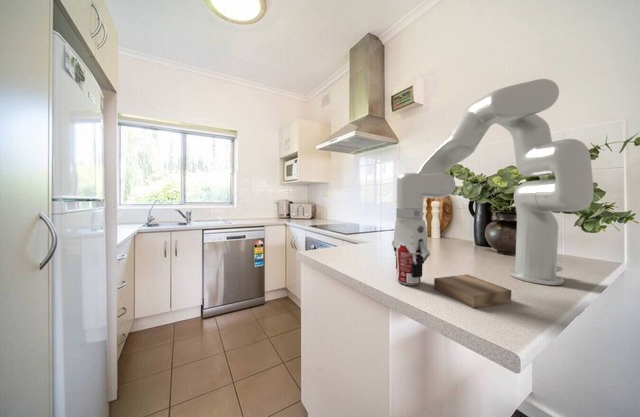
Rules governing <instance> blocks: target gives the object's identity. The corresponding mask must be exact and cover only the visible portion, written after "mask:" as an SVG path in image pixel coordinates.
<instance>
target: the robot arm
mask: <svg viewBox="0 0 640 417" xmlns="http://www.w3.org/2000/svg"><path fill="white" fill-rule="evenodd" d="M559 96H560V89H559V86H558V85H557V83H556V82H555V81H553V80H551V79H548V78H538V79H533V80H529V81H525V82H520V83H517V84H513V85H509V86H505V87H500V88H497V89H496V90H493V91H491V92H489V93H488V94H486V95H484V96H483V97H481V98H479V99H477V100H476V101H474V102H472V103H471V104H470V105H469V106H467V108H465V110H464V111H463V113H462V115H461V116H460V118H459V119H458V121H457V122H456V124H455V125H454V127H453V129H452V130H451V132H450V133H449V135H448V136H447V138H446V139H445V141H444V142H442V144H440V145H439V147H438V148H437V149H436V150H435V151H434V152H433V153H432V154H431V155H430V156H429V157H428V158H427V159H426V161H425V162H423V164H422V166H420V168H419V169H418V171H417V172H409V173H408V172H407V173H401V174H399V175H398V176H397V178H396V208H395V209H396V210H395V211H396V212H395V213H396V215H395V216H396V218H395V219H396V220H395V225H394V231H393V233H394V236H393V237H394V238H393V240H392V242H391V246H392V248H393V251H394V256H395V269H396V270H397V248H398V247H399V245H400V244H403V245H406V248H407V249H408V251H409V253H410V254H412V259H413V262H414V263H413V264H412V277H413V278H416V277H420V278H422V277H423V265H424V264H425V261H427V259H428V257H429V256H431V252H430V250H429V249H428V232H427V224H426V221H425V219H424V214H425V213H424V199H440V198H441V199H442V198H446V197H448V196H449V195H451V194H452V193H453V192H454V190H455V189H456V180H455V179H454V177H453V176H452V175H450V174H448V173H446V172H447V171H448V170H450V169H451V168H453V167H454V166H455V165H457V164H459V163H460V162H463V161H464V160H465V159H466V158H468V157H470V156H471V155H473V153H474V152H475V151H476V148H477V147H478V146H479V144H480V143H481V141H482V139H483V138H484V136H485V135H486V133H487V132H488V130H489V129H490V128H491V127H492V126H493V125H495V124H497V125H499V126H501V127H503V128H504V129H506V131H508V132H509V134H510V135H511V137H512V141H513V146H514V147H513V148H514V155H515V163H516V164H515V166H516V170H517V172H518V173H519V174H520V175H521V176H523V177H540V176H552V175H554V178H553V179H538V180H530V181H526V182H524V183H521V184H519V185H518V186H517V187H516V189H515V190H514V192H513V202H514V206H515V212H516V234H515V235H516V236H515V238H516V239H515V241H516V242H515V266H514V267H515V268H512V269H509V271H508V274H509V275H510V276H511V277H513V278H515V279H517V280H520V281H525V282H528V283H533V284H539V285H546V286H561V285H563V284H564V282H565V280H564V279H563V278H562V277H560V276H558V275H557V273H558V272H562V271H563V267H562V266H561V265H557V264H558V248H559V247H558V245H559V244H558V242H559V240H558V239H559V224H558V220H557V218H556V217H555V215H554V214H553V213H552V212H580V211H583V210H586V209H587V208H589V206H590V205H591V204H592V201H593V200H594V194H595V193H594V192H595V191H594V181H593V180H594V179H593V168H592V158H591V152H590V150H589V148H588V147H587V145H586V144H585V143H584V142H582V141H581V140H579V139H575V138H564V139H559V140H555V141H553V140H552V134H551V128H550V125H549V124H548V122H547V121H546V120H545V119H544V118H542V117H541V116H540V115H538V114H539V113H541V112H544V111H546V110H548V109H550V108H552V106H553V105H555V103H556V102H557V100H558V98H559ZM399 243H400V244H399ZM416 250H419V252H417V253H416ZM416 255H419V257H418V258H417V257H416Z"/></svg>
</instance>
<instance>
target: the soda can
mask: <svg viewBox="0 0 640 417" xmlns="http://www.w3.org/2000/svg"><path fill="white" fill-rule="evenodd" d="M399 244H400V243H399ZM417 252H419V250H416V253H417ZM416 257H417V258H418V257H419V255H416ZM413 263H414V262H413V259H412V254H410V253H409V251H408V249H407V248H406V245H403V244H400V245H399V247H398V248H397V269H396V280H397V282H399V283H400V284H402V285H405V286H412V287H413V286H417V285H420V284H421V277H416V278H413V277H412V264H413Z"/></svg>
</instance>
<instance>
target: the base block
mask: <svg viewBox="0 0 640 417" xmlns="http://www.w3.org/2000/svg"><path fill="white" fill-rule="evenodd" d="M433 280H434V281H433V282H434V283H433V288H434V290H436V291H438V292H439V293H442V294H444V295H446V296H448V297H450V298H451V299H454V300H456V301H457V302H460V303H462V304H463V305H466V306H469V307H470V308H472V309H479V308H485V307H490V306H496V305H502V304H508V303H512V289H509V288H506V287H504V286H501V285H497V284H495V283H492V282H489V281H486V280H484V279H482V278H481V279H480V278H478V277H475V276H472V275H469V274H459V275H452V276H443V277H441V276H440V277H434V279H433Z"/></svg>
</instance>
